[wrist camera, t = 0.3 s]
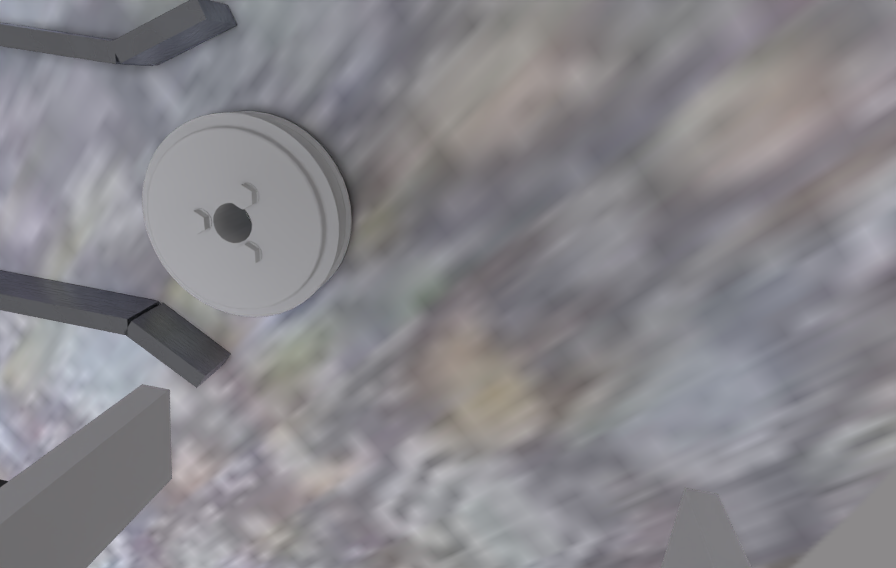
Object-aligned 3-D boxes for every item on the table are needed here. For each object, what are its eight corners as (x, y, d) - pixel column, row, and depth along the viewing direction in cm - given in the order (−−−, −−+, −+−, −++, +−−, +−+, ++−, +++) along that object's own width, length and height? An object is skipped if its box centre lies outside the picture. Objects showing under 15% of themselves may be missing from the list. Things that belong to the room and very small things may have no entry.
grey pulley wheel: (356, 116, 37) (329, 121, 32) (356, 307, 41) (332, 335, 36) (165, 104, 38) (113, 107, 34) (184, 289, 42) (139, 314, 38)
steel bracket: (-75, -39, 37) (-134, -51, 34) (237, 6, 35) (206, -2, 32) (-26, 314, 45) (-70, 332, 42) (230, 366, 44) (205, 389, 40)
